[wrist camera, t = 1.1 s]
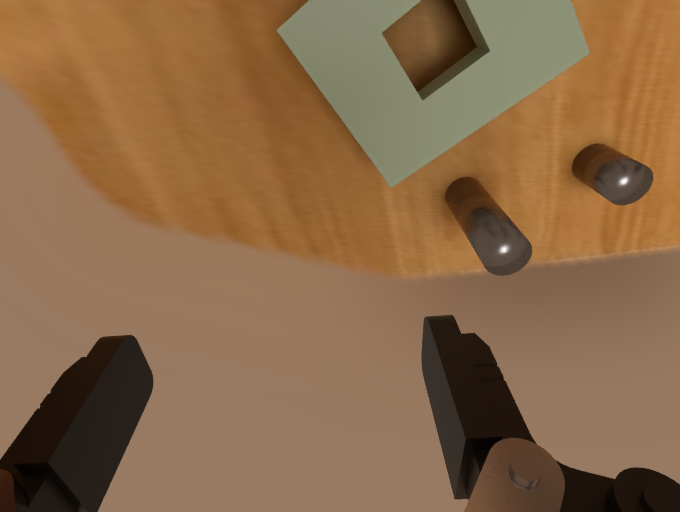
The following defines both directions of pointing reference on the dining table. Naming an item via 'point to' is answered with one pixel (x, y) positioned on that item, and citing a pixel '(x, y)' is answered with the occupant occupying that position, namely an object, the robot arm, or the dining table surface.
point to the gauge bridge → (445, 90)
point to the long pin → (488, 227)
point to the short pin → (612, 174)
